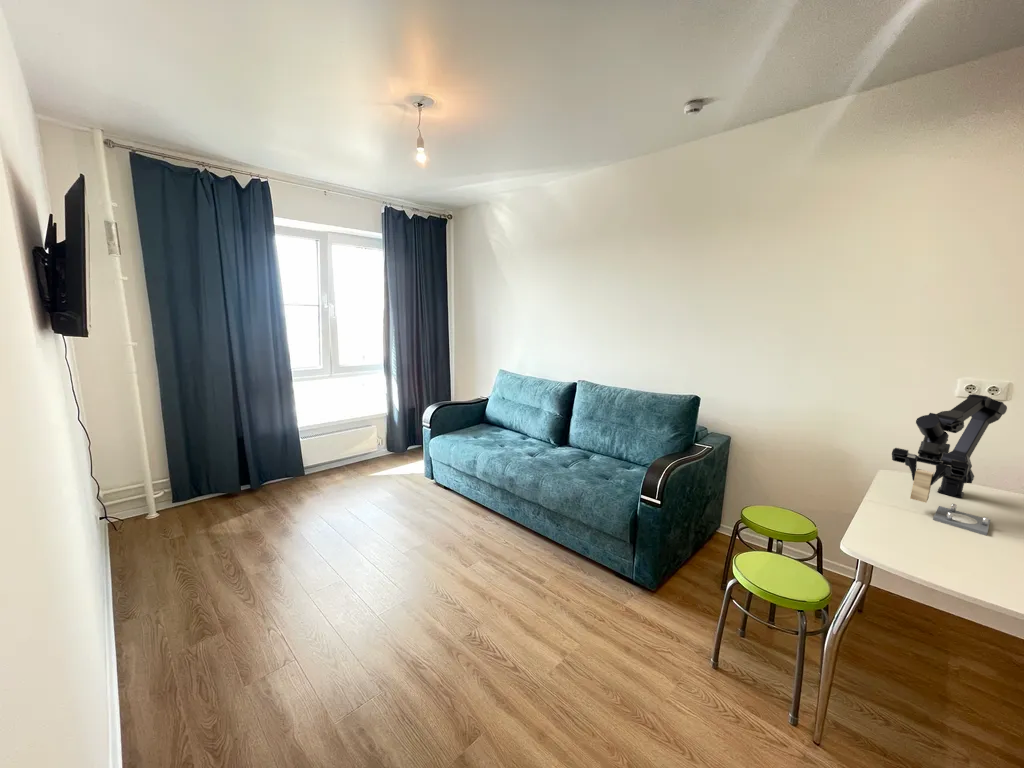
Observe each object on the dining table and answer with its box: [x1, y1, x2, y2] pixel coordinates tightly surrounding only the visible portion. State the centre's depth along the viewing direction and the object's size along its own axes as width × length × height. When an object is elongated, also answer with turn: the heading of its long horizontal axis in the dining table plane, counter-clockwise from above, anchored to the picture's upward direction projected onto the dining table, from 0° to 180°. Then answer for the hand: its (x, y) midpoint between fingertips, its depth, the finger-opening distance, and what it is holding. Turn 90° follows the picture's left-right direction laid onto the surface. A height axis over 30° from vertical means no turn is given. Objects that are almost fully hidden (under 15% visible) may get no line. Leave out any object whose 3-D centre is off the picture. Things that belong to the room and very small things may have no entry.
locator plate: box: [932, 503, 991, 536], centre depth 136 cm, size 12×12×4 cm
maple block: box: [909, 468, 935, 504], centre depth 142 cm, size 4×4×10 cm
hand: (922, 482), depth 140 cm, fingers closed on maple block, 4 cm apart
